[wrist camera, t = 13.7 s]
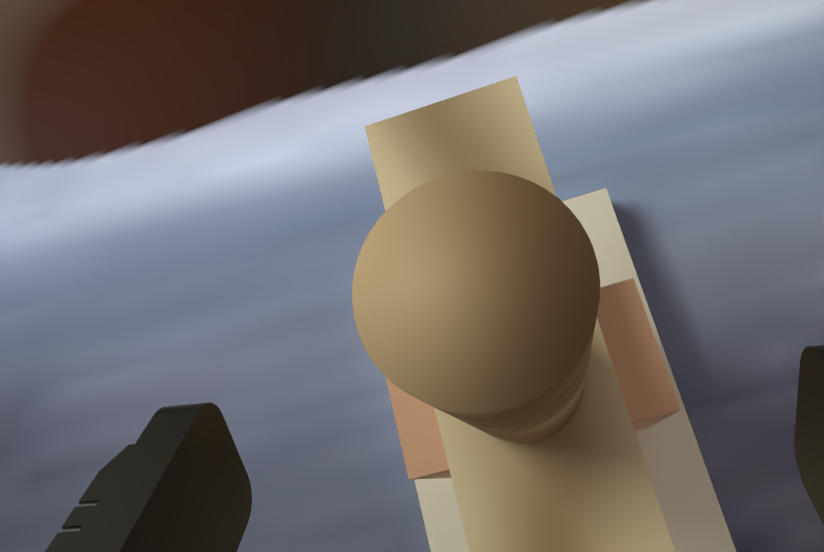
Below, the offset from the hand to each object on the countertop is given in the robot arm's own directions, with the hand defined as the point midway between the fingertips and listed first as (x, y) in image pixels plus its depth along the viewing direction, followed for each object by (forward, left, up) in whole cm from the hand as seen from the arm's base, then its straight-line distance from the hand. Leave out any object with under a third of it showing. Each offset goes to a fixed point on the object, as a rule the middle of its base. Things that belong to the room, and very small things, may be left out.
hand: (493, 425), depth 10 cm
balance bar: (0, +2, -11) cm, 11 cm away
